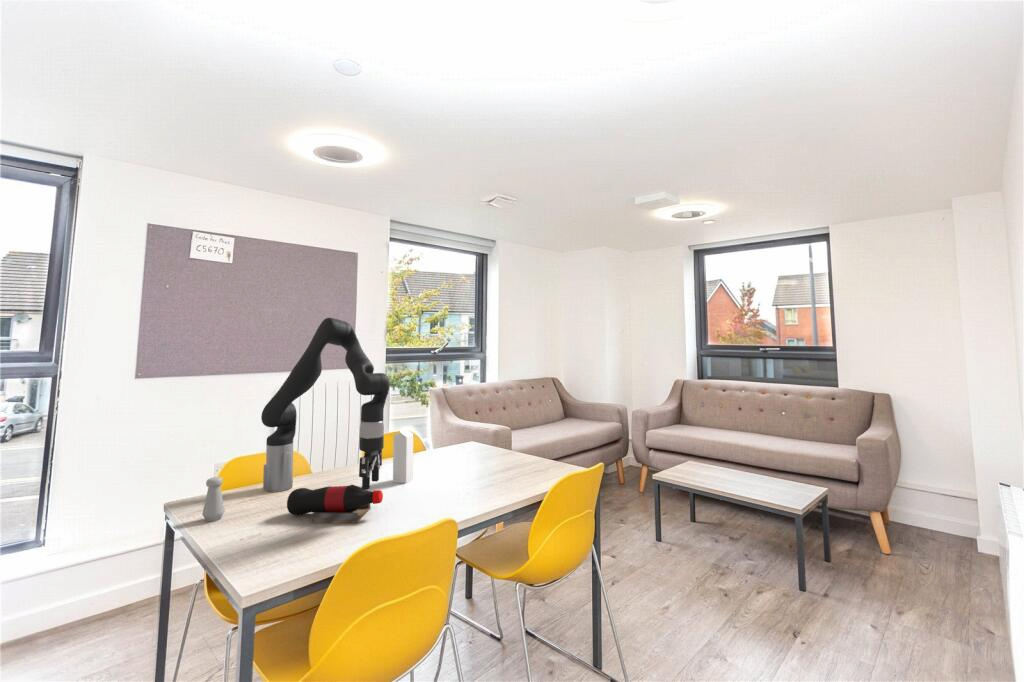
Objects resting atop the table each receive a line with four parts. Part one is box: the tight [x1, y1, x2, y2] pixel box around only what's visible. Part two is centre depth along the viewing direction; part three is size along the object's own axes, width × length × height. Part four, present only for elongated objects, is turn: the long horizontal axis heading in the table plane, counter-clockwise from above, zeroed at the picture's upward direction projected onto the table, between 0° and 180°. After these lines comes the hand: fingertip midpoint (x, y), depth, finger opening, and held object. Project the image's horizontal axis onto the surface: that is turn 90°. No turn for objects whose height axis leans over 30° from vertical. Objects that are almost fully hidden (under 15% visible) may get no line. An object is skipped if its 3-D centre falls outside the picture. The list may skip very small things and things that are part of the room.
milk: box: [392, 425, 414, 484], centre depth 183 cm, size 6×6×22 cm
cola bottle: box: [286, 484, 384, 517], centre depth 144 cm, size 8×8×30 cm
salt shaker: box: [202, 476, 226, 523], centre depth 141 cm, size 6×6×13 cm
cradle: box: [310, 503, 372, 525], centre depth 144 cm, size 14×13×3 cm
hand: (370, 485), depth 144 cm, fingers open, 8 cm apart
